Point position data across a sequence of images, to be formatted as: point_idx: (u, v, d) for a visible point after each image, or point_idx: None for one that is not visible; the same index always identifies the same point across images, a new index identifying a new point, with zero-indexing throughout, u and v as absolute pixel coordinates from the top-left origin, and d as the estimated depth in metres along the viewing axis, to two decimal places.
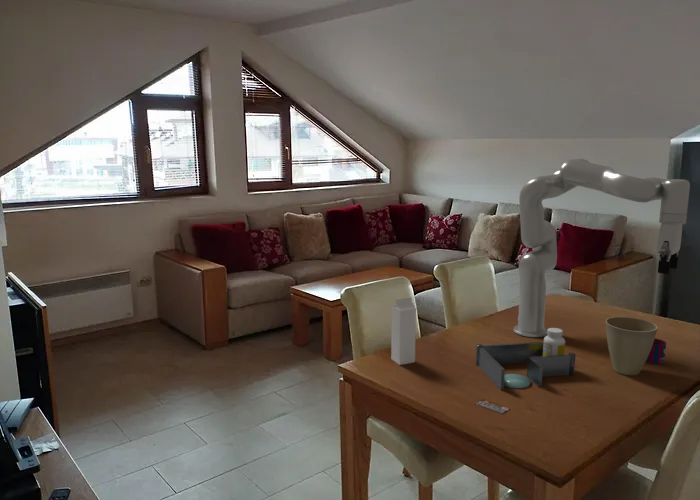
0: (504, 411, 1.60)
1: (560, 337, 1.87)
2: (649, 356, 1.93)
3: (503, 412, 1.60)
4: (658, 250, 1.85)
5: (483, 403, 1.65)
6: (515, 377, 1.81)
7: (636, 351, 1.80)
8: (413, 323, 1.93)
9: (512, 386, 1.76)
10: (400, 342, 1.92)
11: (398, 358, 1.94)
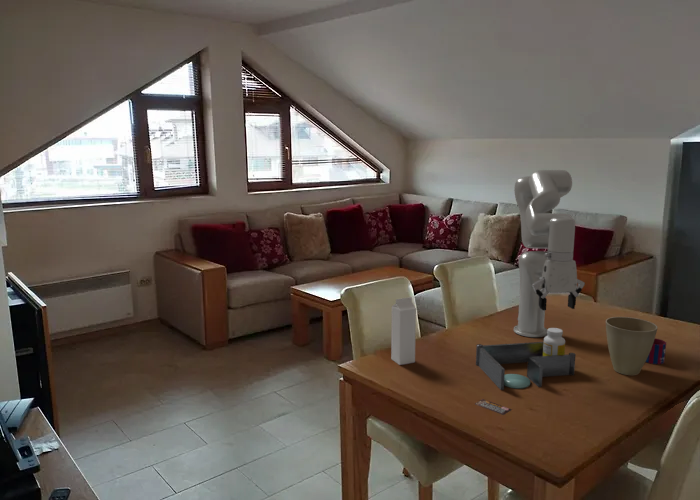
0: (504, 411, 1.60)
1: (560, 337, 1.87)
2: (649, 356, 1.93)
3: (503, 412, 1.60)
4: None
5: (483, 403, 1.65)
6: (515, 377, 1.81)
7: (636, 351, 1.80)
8: (413, 323, 1.93)
9: (512, 386, 1.76)
10: (400, 342, 1.92)
11: (398, 358, 1.94)
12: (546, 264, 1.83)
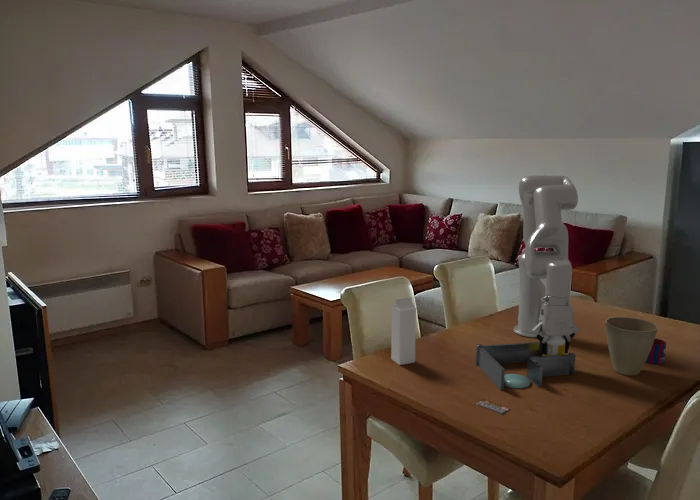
0: (504, 411, 1.60)
1: (560, 337, 1.87)
2: (649, 356, 1.93)
3: (503, 412, 1.60)
4: None
5: (483, 403, 1.65)
6: (515, 377, 1.81)
7: (636, 351, 1.80)
8: (413, 323, 1.93)
9: (512, 386, 1.76)
10: (400, 342, 1.92)
11: (398, 358, 1.94)
12: (543, 308, 1.86)
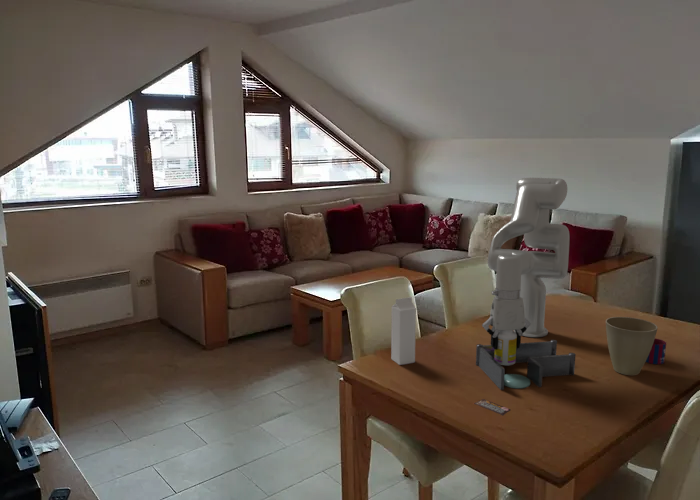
0: (503, 411, 1.60)
1: (511, 331, 1.84)
2: (649, 356, 1.93)
3: (502, 412, 1.60)
4: None
5: (483, 403, 1.65)
6: (515, 377, 1.81)
7: (636, 351, 1.80)
8: (413, 323, 1.93)
9: (512, 386, 1.76)
10: (400, 342, 1.92)
11: (398, 358, 1.94)
12: (494, 302, 1.83)
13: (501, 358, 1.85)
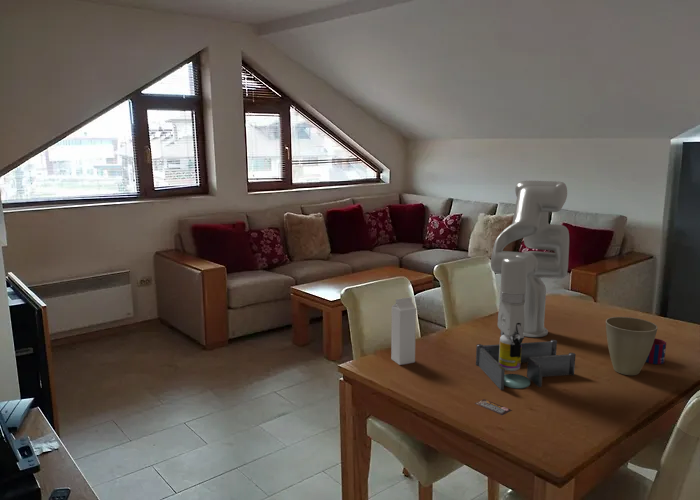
0: (503, 411, 1.60)
1: (506, 336, 1.80)
2: (649, 356, 1.93)
3: (502, 412, 1.60)
4: (511, 333, 1.76)
5: (483, 403, 1.65)
6: (515, 377, 1.81)
7: (636, 351, 1.80)
8: (413, 323, 1.93)
9: (512, 386, 1.76)
10: (400, 342, 1.92)
11: (398, 358, 1.94)
12: None
13: None
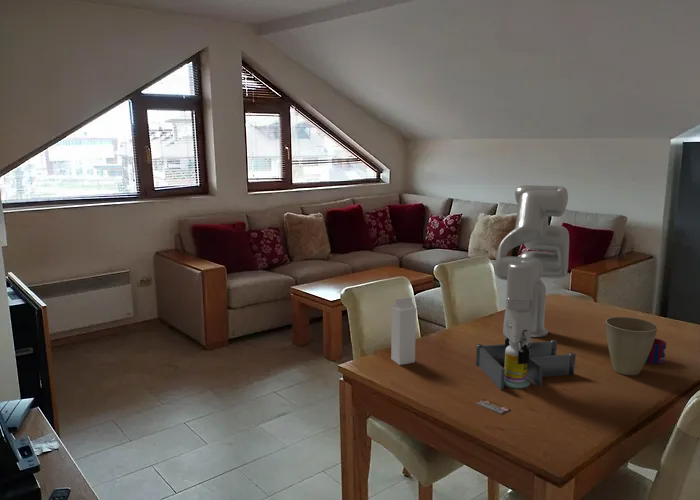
0: (503, 412, 1.60)
1: (512, 347, 1.76)
2: (649, 356, 1.93)
3: (502, 412, 1.60)
4: (518, 341, 1.72)
5: (483, 403, 1.65)
6: None
7: (636, 351, 1.80)
8: (413, 323, 1.93)
9: (512, 386, 1.76)
10: (400, 342, 1.92)
11: (398, 358, 1.94)
12: None
13: None
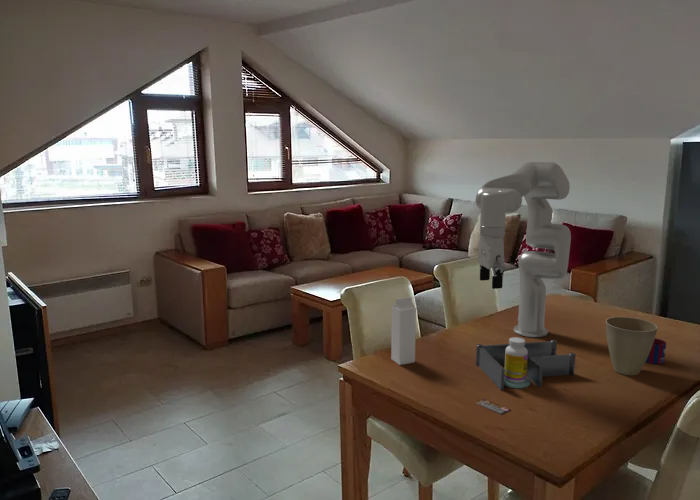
0: (503, 412, 1.60)
1: (512, 347, 1.76)
2: (649, 356, 1.93)
3: (502, 412, 1.60)
4: (491, 266, 1.79)
5: (483, 403, 1.65)
6: None
7: (636, 351, 1.80)
8: (413, 323, 1.93)
9: (512, 386, 1.76)
10: (400, 342, 1.92)
11: (398, 358, 1.94)
12: None
13: None
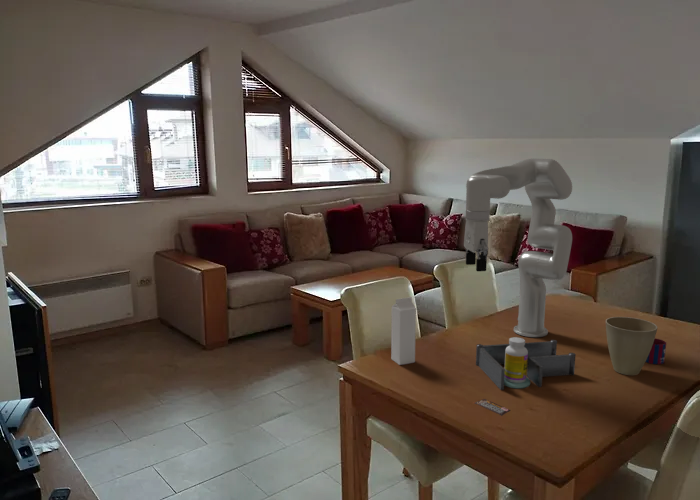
0: (502, 412, 1.60)
1: (512, 347, 1.76)
2: (649, 356, 1.93)
3: (501, 412, 1.60)
4: (475, 249, 1.84)
5: (484, 403, 1.65)
6: None
7: (636, 351, 1.80)
8: (413, 323, 1.93)
9: (512, 386, 1.76)
10: (400, 342, 1.92)
11: (398, 358, 1.94)
12: None
13: None
